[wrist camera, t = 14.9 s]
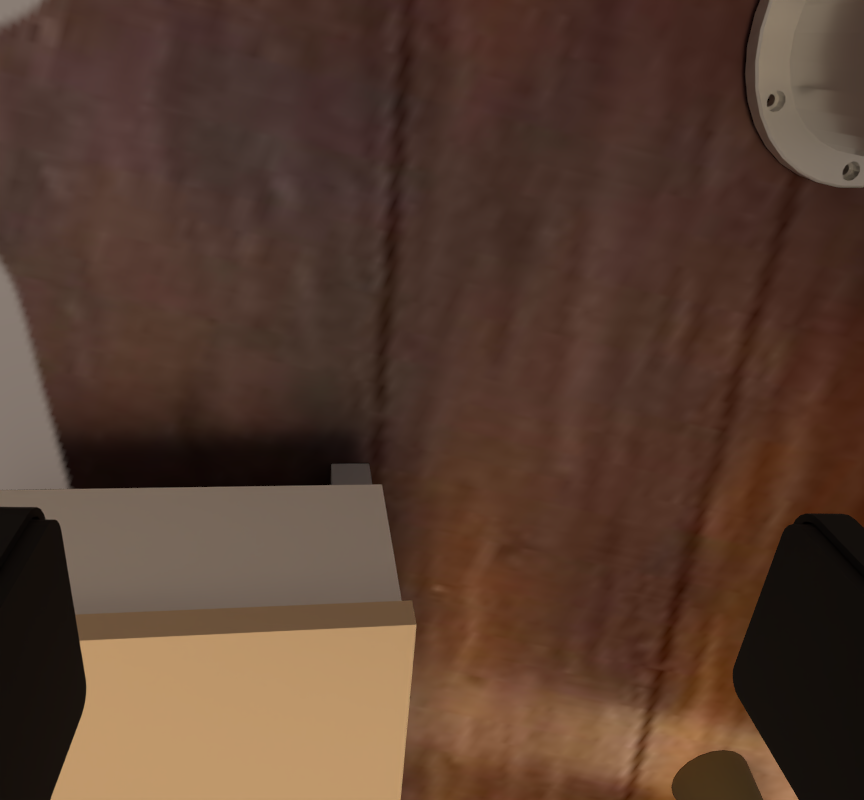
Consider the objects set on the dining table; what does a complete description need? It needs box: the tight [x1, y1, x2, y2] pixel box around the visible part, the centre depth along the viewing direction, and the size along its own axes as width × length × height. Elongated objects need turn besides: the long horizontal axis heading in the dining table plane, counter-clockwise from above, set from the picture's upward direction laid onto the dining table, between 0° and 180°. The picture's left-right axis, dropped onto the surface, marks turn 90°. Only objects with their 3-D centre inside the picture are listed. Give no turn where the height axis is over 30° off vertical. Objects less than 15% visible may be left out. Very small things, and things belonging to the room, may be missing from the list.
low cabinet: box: [0, 464, 416, 800], centre depth 34 cm, size 17×19×15 cm
